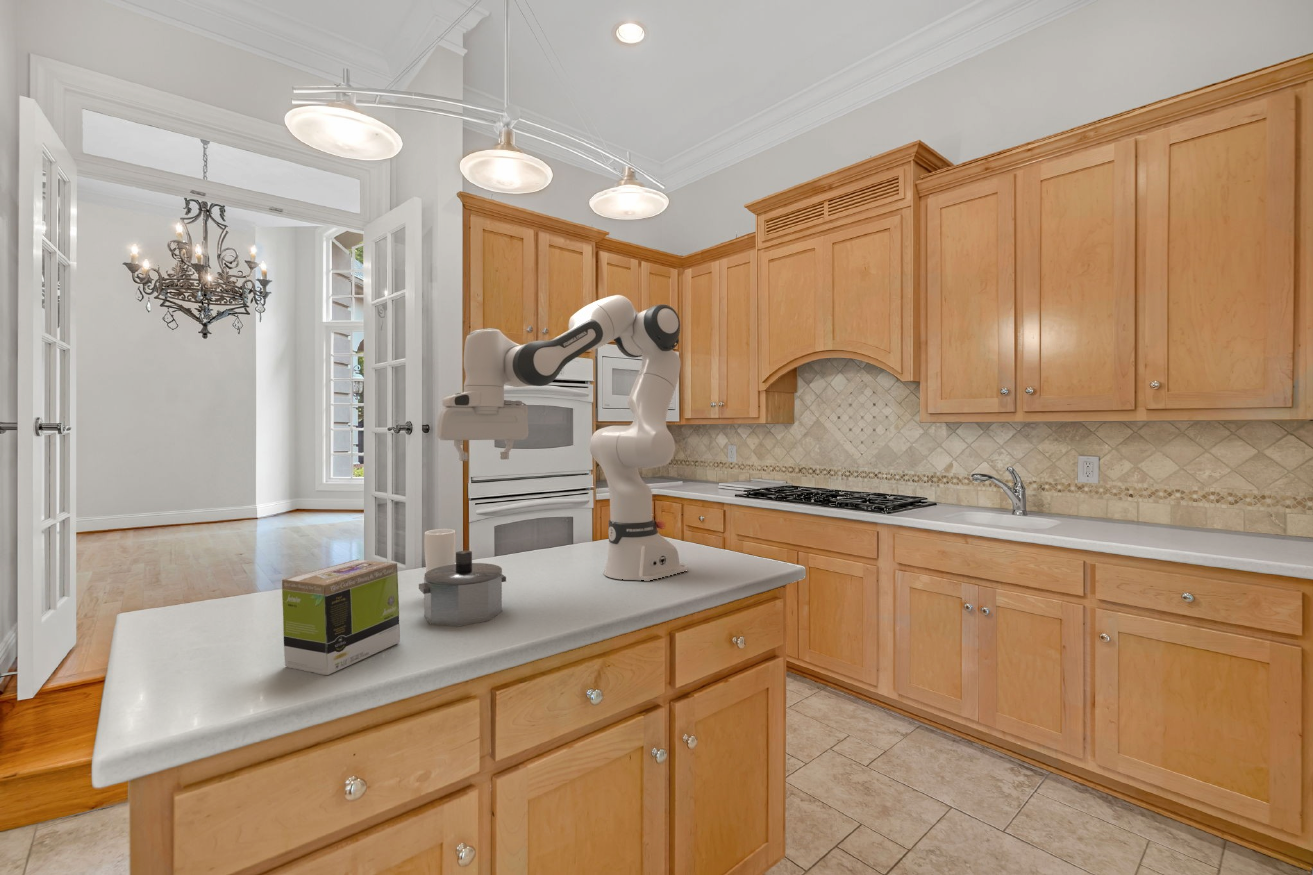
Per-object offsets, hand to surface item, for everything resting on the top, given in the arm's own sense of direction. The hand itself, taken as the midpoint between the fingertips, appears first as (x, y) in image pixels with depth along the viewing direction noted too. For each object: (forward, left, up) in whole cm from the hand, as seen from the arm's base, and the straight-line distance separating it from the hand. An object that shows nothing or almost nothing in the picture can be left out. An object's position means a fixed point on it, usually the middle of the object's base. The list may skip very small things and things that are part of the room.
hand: (484, 460), depth 135 cm
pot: (+8, +11, -31) cm, 34 cm away
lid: (+8, +11, -24) cm, 28 cm away
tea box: (+31, +22, -31) cm, 49 cm away
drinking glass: (+9, -4, -31) cm, 33 cm away
